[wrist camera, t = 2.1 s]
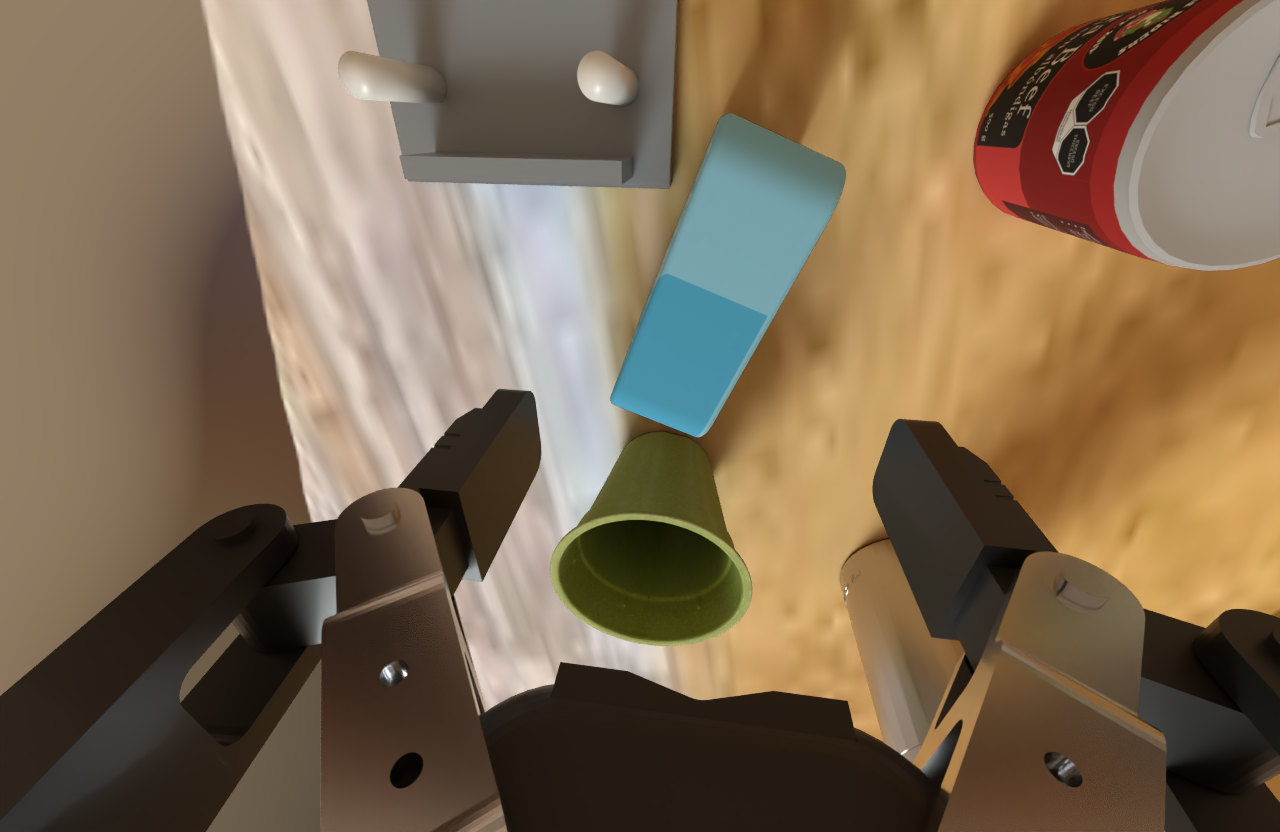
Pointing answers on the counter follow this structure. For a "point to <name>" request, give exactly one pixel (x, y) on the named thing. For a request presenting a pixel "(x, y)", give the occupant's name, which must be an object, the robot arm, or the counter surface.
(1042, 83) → the canned food
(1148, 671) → the robot arm
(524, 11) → the tray
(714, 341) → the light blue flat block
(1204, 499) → the counter surface
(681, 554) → the plant pot
